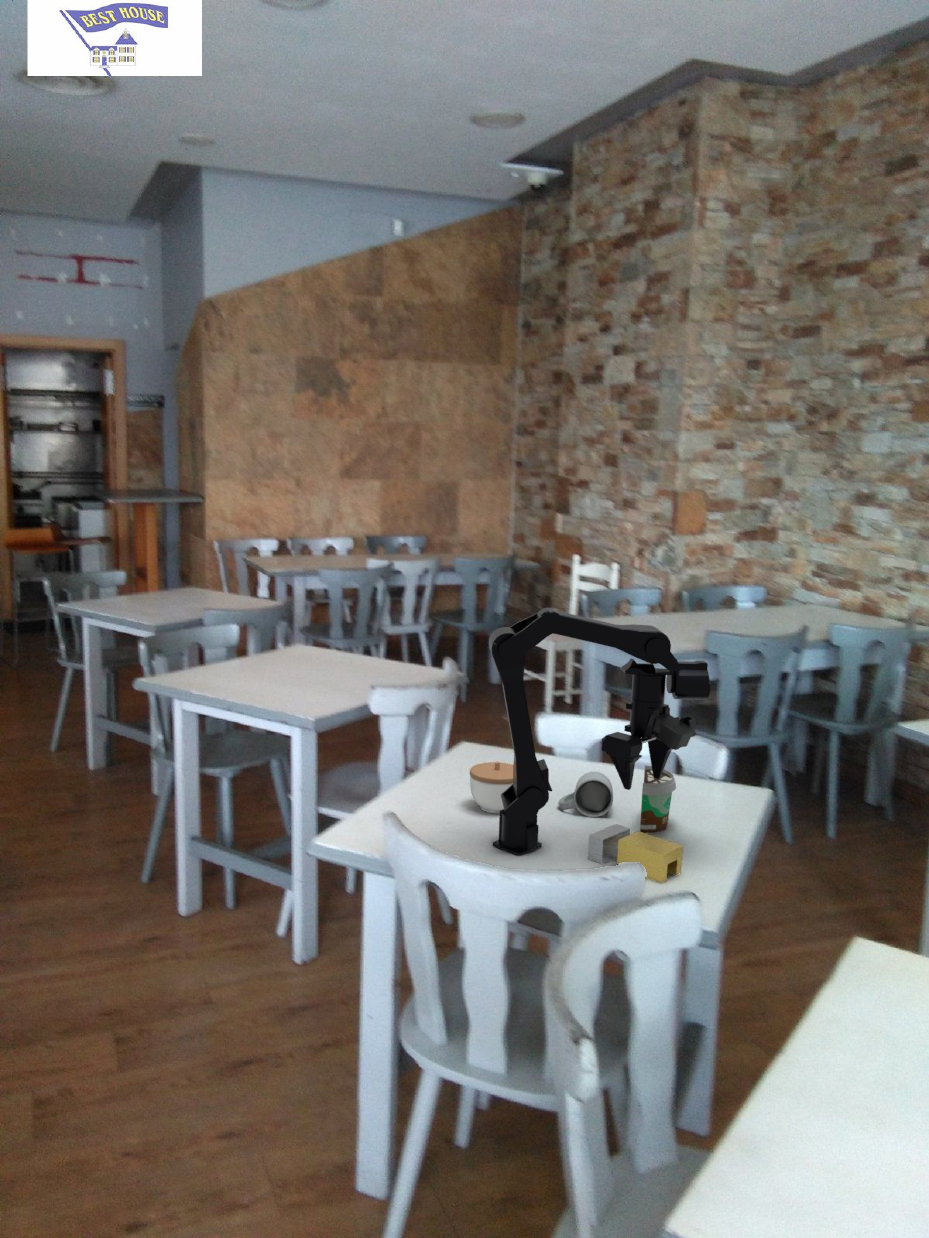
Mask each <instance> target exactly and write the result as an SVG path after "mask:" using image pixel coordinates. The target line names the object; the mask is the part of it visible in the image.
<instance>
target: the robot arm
mask: <svg viewBox="0 0 929 1238" xmlns="http://www.w3.org/2000/svg"><path fill="white" fill-rule="evenodd" d="M552 634H555V635H559V636H563V637H567V638H572V639H575V640H580V641H584V642H588V643H592V644H598V645H602V646H605V647H610V648H615V649H617V650H619V651H621V652H624V653H625V654H627V655H629V656H631V657H635V658H636V659H639V660H641V661H644V663H643V662H642V663H639V662H638V663H637V662H636V661H635V659H634V658H630V659H629V661H627V662H626V663H625V664H624V665H622V666H621V668H620V669H621V670H622V672H623V673H624V674H625V675H632V682H631V697H630V698H631V699H630V700H631V701H628V702H625V710H629V711H630V715H629V724H626V725H624V731H623V732H620V731H615V732H611V733H609V734H606V735H605V736H603V737H602V738H601V742H600V743H601V744H600V746H601V747H600V750H601V751H602V752H605V753H604V754H606V755H607V756H609V757H610V760H611V761H612V764H613V765H614V767H615V770H616V773H617V775H618V777H619V779H620V783H621V784H622V787H623V789H624V790H627V791H630V790H631V788H632V785H633V778H634V774H635V773H634V772H635V766H636V763H637V761H639V760H640V759H641V758H642V757H643V755H641V753H642V750H643V744H645V743H647V745H648V753H649V758H650V759H649V760H650V764H651V765H650V766H652V771H653V776H654V778H656V779H660V777H661V775H662V772H663V770H664V769H665V767H666V764H667V762H668V759H669V757H670V754H671V753H672V751H673V750H674V751H675V750H677V751H678V750H680V748H686V747H687V746H688V745H689V743H690V741H691V738H692V737H693V738H694V737H695V736H696V735H697V733H696V718H695V717H693V716H691V715H690V714H688V715H685V716H683V717H682V718H680V717H679V716H676V717H674V716H673V715H671V707H670V706H669V704H666V703H665V693H668V694H671V695H672V696H671V697H672V698H673V699H674V700H697V701H698V700H703V701H705V700H706V701H707V700H708V699H709V697H710V694H711V687H712V686H711V684H712V683H711V682H710V673H709V670H708V668H709V667H708V666H709V665H708V664H709V663H707V662H706V661H705V660H694V661H690V660H689V661H684V660H682V661H681V660H680V661H678V658H676V657H675V656H674V654H673V653H672V651H671V649H672V644H671V640H670V638H669V636H668V635H667V634H665V633H664V632H663V631H662V630H660V629H659V628H657V626H654V625H650V624H615V623H612V622H611V623H610V622H607V621H602V620H598V619H593V618H589V617H586V616H581V615H578V614H577V615H576V614H571V613H568V612H565V611H560V610H556V609H554V608H552V607H544V608H541V609H540V610H539V611H538V612H536V613H534V614H532V615H530V616H528V617H526V618H523V619H521V620H519V621H517V622H516V623H514V624H512V625H511V626H502V627H498V628H496V629H495V630H494V631H493V632H492V633H491V635H490V636H489V638H488V646H489V647H488V648H489V650H490V653H491V656H492V659H493V661H494V664H495V667H496V670H497V673H498V675H499V677H500V680H501V685H502V691H503V696H504V702H505V708H506V713H507V714H506V715H507V720H508V726H509V732H510V737H511V738H510V739H511V744H512V749H513V764H512V765H513V784H512V785H511V786H510V787H509V788H507V789H506V790H505V791H504V792H503V793H502V794H501V799H502V803H503V807H504V809H503V810H500V813H499V822H498V840H496V841H492V846H494V847H496V848H498V849H501V850H504V851H506V852H509V853H511V854H514V855H517V856H521V855H524V854H526V853H527V854H528V853H529V852H531V851H532V852H533V851H534V850H536V849H539V848H542V845H543V844H542V843H541V842H539V828H540V827H539V824H538V813H539V811H540V810H541V809H542V808H544V807H545V806H546V805H547V803H548V802H549V799H550V792H553V788H552V786H551V783H550V781H549V779H550V778H549V777H550V773H549V772H550V771H549V768H548V765H547V763H546V760H545V759H544V758H542V759H540V760H538V758H537V756H536V749H535V742H534V737H533V732H532V726H531V720H530V713H529V707H528V700H527V696H526V695H527V694H526V690H525V684H524V681H525V680H524V679H525V668H526V667H525V665H526V664H525V663H526V653H527V652H529V651H531V650H532V649H534V648H535V647H537V646H538V645H539V644H540V643H541V642H543V640H545V639H546V638H548V637H549V636H550V635H552ZM656 664H659V665H661V666H662V668H659V667H655V665H656ZM666 691H667V692H666ZM624 732H626V733H624ZM628 733H630V734H628Z"/></svg>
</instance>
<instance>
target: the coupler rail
mask: <svg viewBox="0 0 929 1238" xmlns="http://www.w3.org/2000/svg"><path fill="white" fill-rule="evenodd" d="M628 835H631V828H630V827H628V826H623V825H621V824H618V823H615V824H613V825H610V826H608V827H606V828H603V829H600V830H598V831H595V832H592V833H591V834H589V835H588V851H587V853H588V854H587V859H588V860H590V861H593V862H596V863H598V864H601V865H603V864H605V863H607V862H610V861H612V860H614V861H616V862H617V855H618V840H619V839H621V838H624V837H626V836H628Z"/></svg>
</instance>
